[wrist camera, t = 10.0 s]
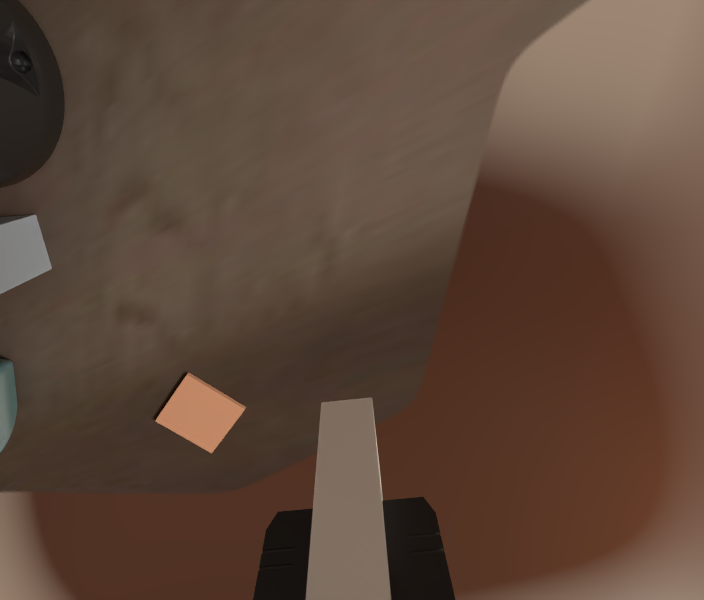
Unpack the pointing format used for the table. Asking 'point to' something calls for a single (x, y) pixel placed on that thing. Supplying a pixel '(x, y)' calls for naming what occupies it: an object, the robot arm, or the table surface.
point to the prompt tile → (200, 413)
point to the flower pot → (7, 401)
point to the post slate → (21, 251)
